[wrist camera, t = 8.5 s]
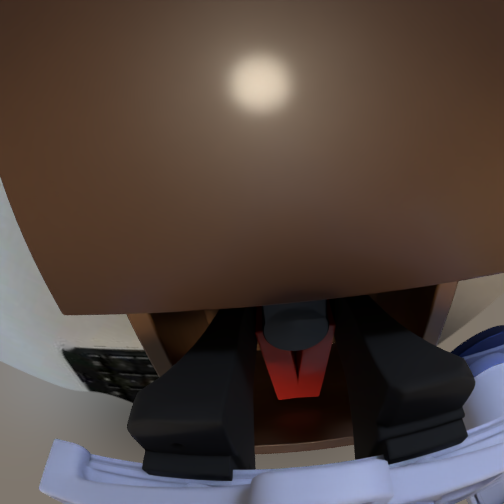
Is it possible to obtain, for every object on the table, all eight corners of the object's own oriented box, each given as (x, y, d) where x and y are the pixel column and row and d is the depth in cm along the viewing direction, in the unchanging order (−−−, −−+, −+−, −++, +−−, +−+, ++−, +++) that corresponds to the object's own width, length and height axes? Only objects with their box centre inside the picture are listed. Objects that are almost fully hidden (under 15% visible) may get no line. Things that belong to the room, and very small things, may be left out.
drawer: (372, 386, 21) (389, 461, 16) (218, 400, 22) (211, 477, 17) (410, 126, 11) (504, 180, 6) (137, 153, 12) (59, 224, 7)
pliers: (323, 197, 12) (343, 244, 9) (322, 350, 17) (331, 403, 14) (242, 205, 12) (237, 254, 10) (266, 356, 17) (267, 409, 14)
